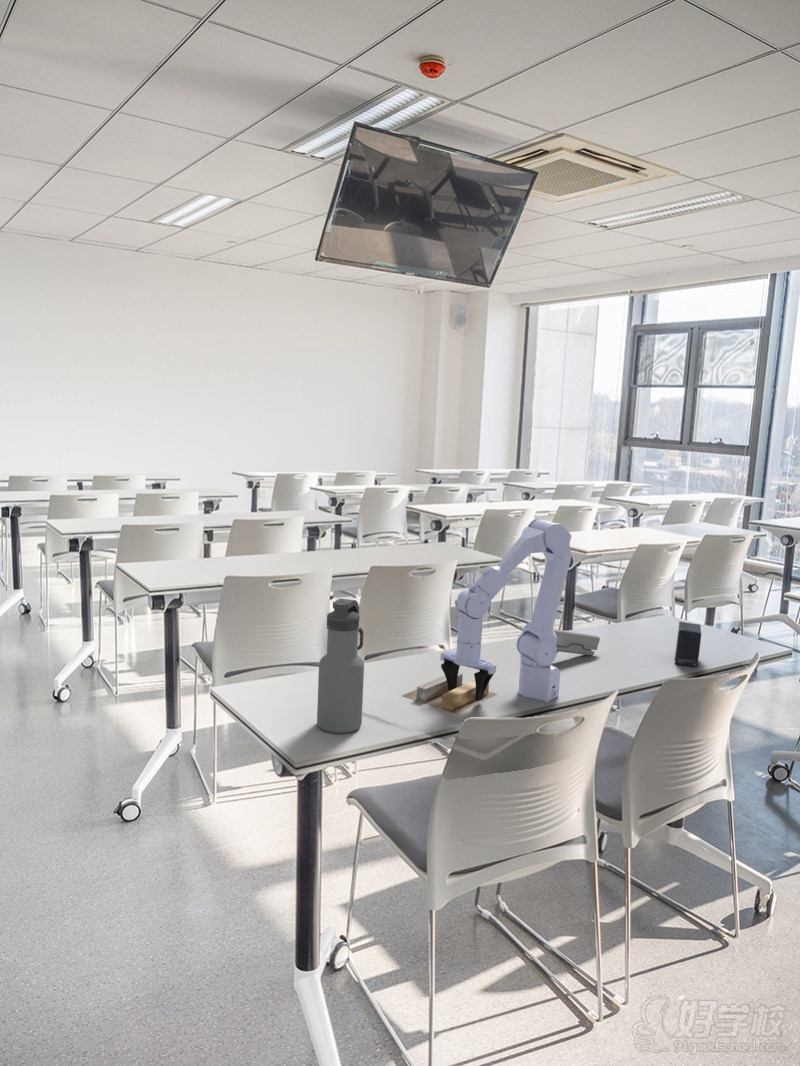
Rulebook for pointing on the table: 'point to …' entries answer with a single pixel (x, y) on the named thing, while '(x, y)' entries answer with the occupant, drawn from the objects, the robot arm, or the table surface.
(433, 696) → the stand
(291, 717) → the table surface
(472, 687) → the oak bar
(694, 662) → the small box
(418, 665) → the table surface
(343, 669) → the water bottle
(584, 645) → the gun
